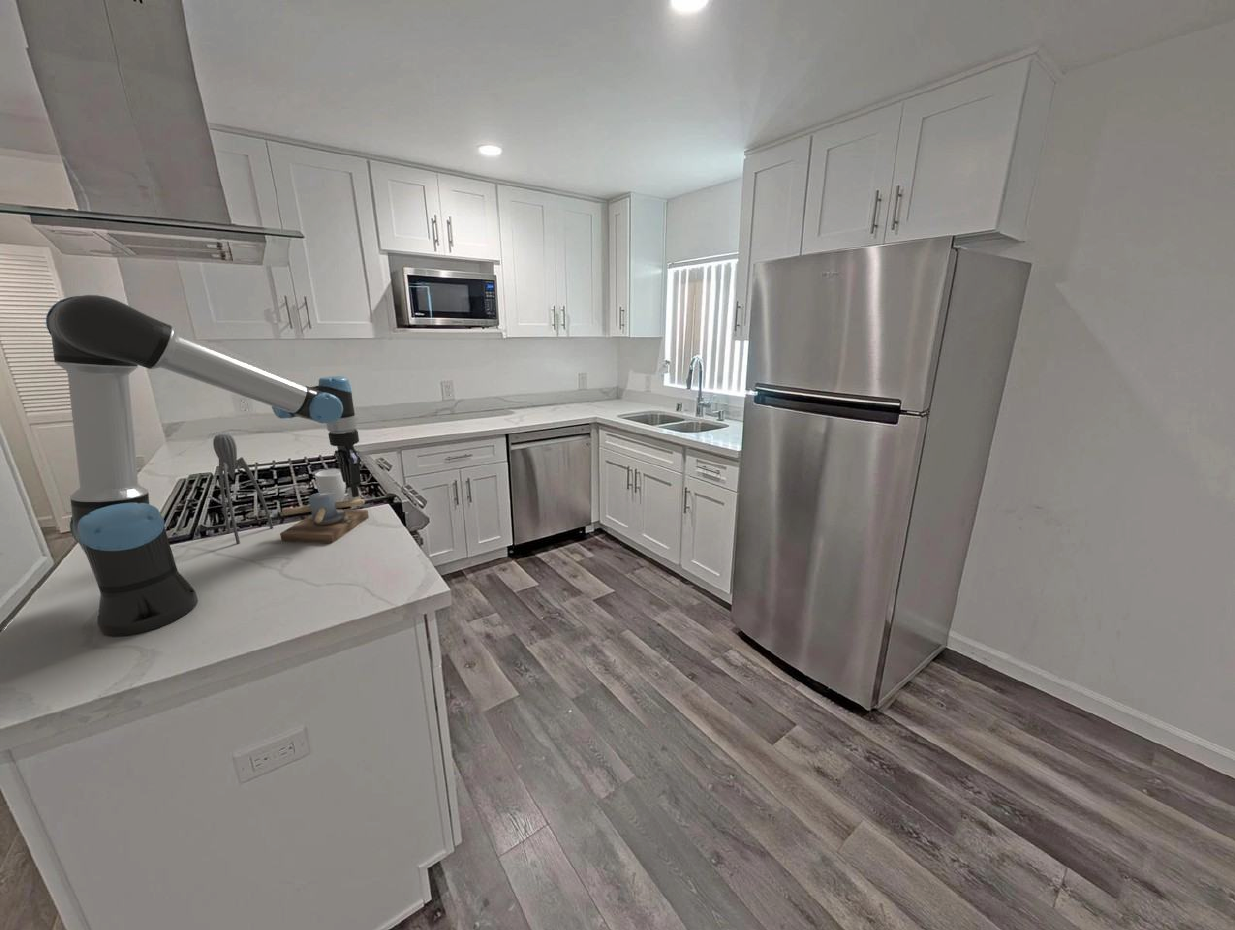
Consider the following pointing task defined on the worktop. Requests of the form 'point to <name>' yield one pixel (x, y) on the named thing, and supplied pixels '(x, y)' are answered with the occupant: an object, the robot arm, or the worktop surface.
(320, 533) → the stand
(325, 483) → the mug
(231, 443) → the citrus juicer
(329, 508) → the capstan
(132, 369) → the robot arm
